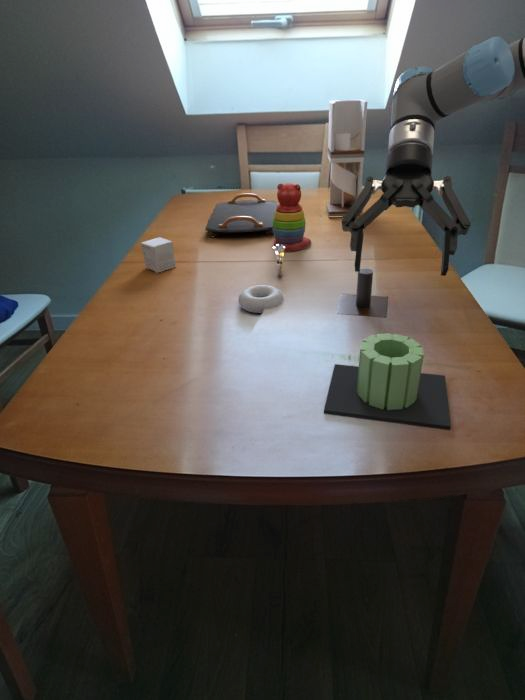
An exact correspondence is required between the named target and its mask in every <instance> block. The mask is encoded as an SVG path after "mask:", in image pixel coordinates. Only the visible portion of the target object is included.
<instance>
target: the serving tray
mask: <svg viewBox="0 0 525 700" xmlns="http://www.w3.org/2000/svg"><path fill="white" fill-rule="evenodd" d="M239 198H255V199H248V200H247V199H245V200H238V199H239ZM278 205H279V202H278V200H277V201H276V200H266V198H262V197H261V196H260V195H258V194H257V193H252V192H245V193H244V192H243V193H238V194H236V195H235V196H233V198H232V199H228V200H227V201H224V202H219V203H216V205H215V206H214V208H213V210H212V213H211V214H210V217H209V218H208V220H207V224H206V226H205V231H208V232H209V236H210V237H211V236H217V233H251V232H253V233H254V232H261V231H266V234H267V236H268V235H271V236H273V235H274V232H273V218H274V213H275V210H276V207H277V206H278Z"/></svg>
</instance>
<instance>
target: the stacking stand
mask: <svg viewBox="0 0 525 700" xmlns="http://www.w3.org/2000/svg"><path fill="white" fill-rule="evenodd" d="M373 279H374V271H373V269H370V268H360V272H357V281H356V294H353V293H341V296H340V299H339V303H338V305H337V310H336V315H346V316H359V317H373V318H384V319H386V318H387V316H388V305H389V304H388V303H389V296H383V295H372V290H373Z"/></svg>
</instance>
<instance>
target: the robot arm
mask: <svg viewBox="0 0 525 700" xmlns="http://www.w3.org/2000/svg"><path fill="white" fill-rule="evenodd" d="M523 89H525V36H524V37H521V38H520V39H517V40H515V41H513V42H512V43H511V42H510V43H509V44H508V42H506V41H505V40H504V39H503V38H502V37H501V36H492V37H490V38H488V39H486V40H484V41H483V42H481V43H477V44H475V45H473V46H472V47H471V48H470V49H468V50H466V51H465V52H463V53H461V54H460V55H458V56H457V57H454V58H452V59H451V60H450V61H447V62H446V63H445V64H443V65H440V66H439V67H438V68H436V69H435V70H433V69H432V68H430V67H427V66H418V67H415V68H413V67H411V68H408V69H406V70H405V71H403V72H402V73H401V74H400V75H399V77H398V78H397V79H396V82H395V86H394V90H393V94H392V98H391V115H390V117H391V118H390V128H389V134H388V142H387V143H388V144H387V156H386V164H385V175H384V178H383V180H377V179H374V177H373V176H371V175H369V176H367V177H366V178H365V182H364V187H363V188H362V192H361V193H360V195H359V196H358V197H357V199H356V200H355V202H354V203H353V205H352V206H351V208H350V209H349V211H348V212H347V214H346V215H345V216H344V217H342V219H341V229H342V231H343V232H345V233H346V232H349V233H350V241H349V246H350V247H349V248H350V252H355V258H354V272H357V273H358V272H360V269H361V263H362V253H363V245H364V230H365V229H366V228H367V227H369V226H370V224H371V223H372V222H374V221H375V220H376V219H377V218H378V217H379V216H381V214H383V213H384V211H387V210H388V209H390V208H391V207H392V206H395V208H404V207H407V208H415V207H416V206H419V208H420V209H421V210H422V211H423V212H426V213H427V215H428V216H429V217H430V218H431V219H432V221H434V222H435V223H436V225H437V226H438V227H439V228H440V229H441V230H442V231H443V232H444V235H443V238H442V248H441V249H442V251H441V263H440V264H441V267H440V276H443V277H446V276H447V274H448V271H449V266H450V256H454V255H455V254H456V251H457V249H458V237H459V236H461V235H462V236H466V235H467V234H468V232H469V231H470V228H471V225H472V223H471V221H470V219H469V217H468V216H467V214H466V212H465V210H464V208H463V206H462V204H461V202H460V200H459V199H458V197H457V195H456V193H455V191H454V189H453V183H452V178H451V176H448V175H446V176H444V177H443V179H441V180H434V179H433V176H432V173H433V172H432V171H433V160H434V159H433V157H434V155H433V154H434V142H435V130H436V123H437V122H438V121H440V120H442V119H444V118H447V117H448V116H450V115H452V114H454V113H457V112H458V111H462V110H463V109H465V108H467V107H469V106H472V105H474V104H478V103H484V102H488V101H493V100H504V99H506V98H509V97H511V96H513V95H515V94H517V93H518V92H519V91H521V90H523ZM378 190H381V192H382V194H381V195H380V197H379V199H377V200H376V201H375V202H374V203H373V204H372V205H370V207H368V209H367V210H365V211H364V212H363V210H364V209H365V207H366V206H367V204H368V202H369V201H370V199H371V198H372V195H375V194H376V193H377V192H378ZM434 190H435V191H436V192H437V194H438V196H441V197H442V201H443V203H444V205H445V207H446V209H447V211H448V212H449V214H450V216H449V214H448V213H447V212H446V211H445V210H444V209H443V208H442V206H441V205H440V204H439V203H438V202H437V201H436V200H435V198H434V196H433V195H432V194H431V193H432V191H434ZM362 212H363V213H362ZM361 213H362V214H361ZM359 214H360V217H358V216H359Z"/></svg>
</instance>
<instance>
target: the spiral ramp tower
mask: <svg viewBox="0 0 525 700" xmlns="http://www.w3.org/2000/svg"><path fill="white" fill-rule="evenodd" d="M328 103H329V104H328V105H329V106H328V128H327V129H328V133H327V138H328V139H327V160H328V161H329V163H330V174H329V175H330V177H329V178H330V179H329V203H325V204H326V205H325V209H326V208H327V210H326V213H327V212H328V214H327V216H328V215H329V216H345V215H346V214H347V212H348V211H349V209H350V208H351V206H352V205H353V203H354V202H355V200H356V199H357V197H358V196H359V195H360V193H361V192H362V190H363V175H364V161H365V159H364V158H365V146H366V145H365V144H366V132H367V131H366V129H367V116H368V115H367V114H368V113H367V112H368V101H366V100H364V99H346V100H329V101H328ZM359 216H361V213H360V214H359Z"/></svg>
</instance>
